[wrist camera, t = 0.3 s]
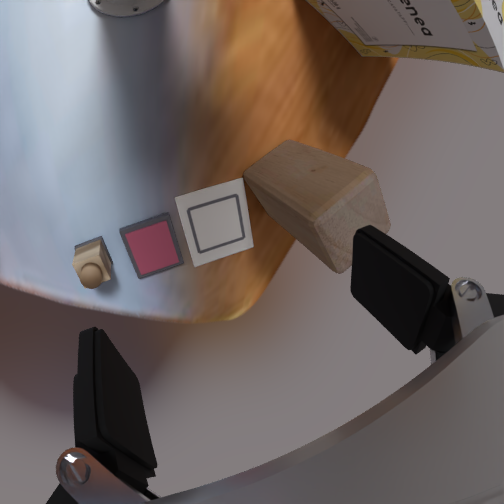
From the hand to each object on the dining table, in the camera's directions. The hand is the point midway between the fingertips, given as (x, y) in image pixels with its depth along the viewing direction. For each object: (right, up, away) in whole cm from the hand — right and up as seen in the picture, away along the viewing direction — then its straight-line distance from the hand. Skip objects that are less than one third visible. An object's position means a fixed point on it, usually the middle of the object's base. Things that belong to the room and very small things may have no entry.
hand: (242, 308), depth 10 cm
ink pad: (-15, +3, +36) cm, 39 cm away
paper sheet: (-5, +7, +39) cm, 39 cm away
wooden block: (+5, +14, +39) cm, 41 cm away
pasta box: (+16, +44, +26) cm, 54 cm away
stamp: (-24, +2, +32) cm, 41 cm away
